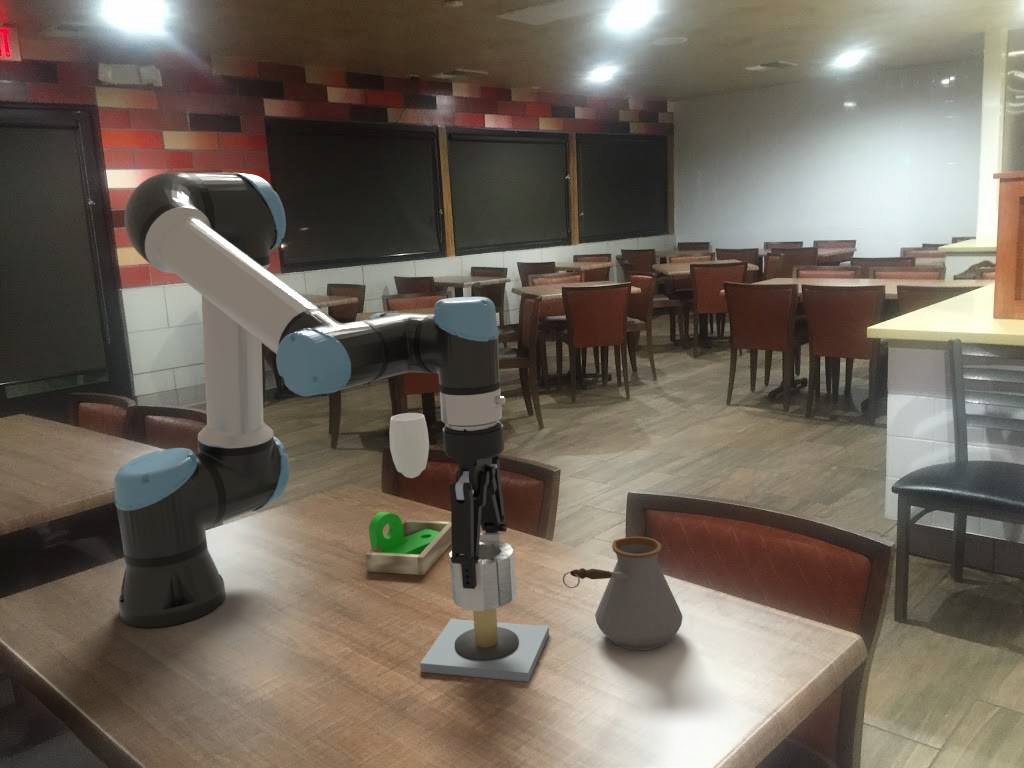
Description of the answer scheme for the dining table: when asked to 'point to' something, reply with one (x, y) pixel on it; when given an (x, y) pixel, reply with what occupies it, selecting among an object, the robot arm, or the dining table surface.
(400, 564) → the parts corral
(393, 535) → the mechanical part
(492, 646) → the square base plate
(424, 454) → the white rounded tapered piece
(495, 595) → the ring
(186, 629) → the dining table surface
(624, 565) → the coffee pot
